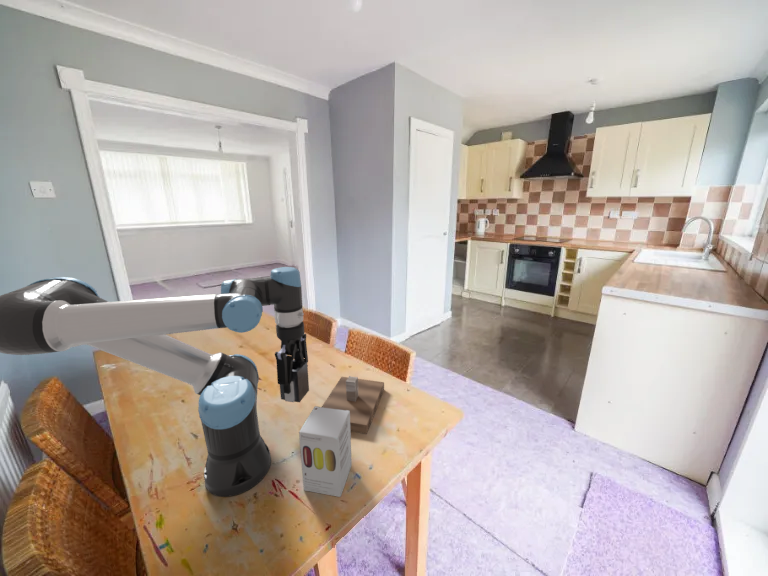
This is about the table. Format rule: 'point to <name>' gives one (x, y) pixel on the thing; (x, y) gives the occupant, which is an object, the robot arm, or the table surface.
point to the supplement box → (326, 450)
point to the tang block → (356, 400)
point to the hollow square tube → (298, 380)
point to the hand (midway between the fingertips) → (295, 393)
